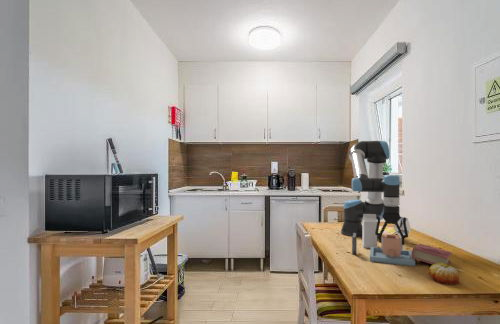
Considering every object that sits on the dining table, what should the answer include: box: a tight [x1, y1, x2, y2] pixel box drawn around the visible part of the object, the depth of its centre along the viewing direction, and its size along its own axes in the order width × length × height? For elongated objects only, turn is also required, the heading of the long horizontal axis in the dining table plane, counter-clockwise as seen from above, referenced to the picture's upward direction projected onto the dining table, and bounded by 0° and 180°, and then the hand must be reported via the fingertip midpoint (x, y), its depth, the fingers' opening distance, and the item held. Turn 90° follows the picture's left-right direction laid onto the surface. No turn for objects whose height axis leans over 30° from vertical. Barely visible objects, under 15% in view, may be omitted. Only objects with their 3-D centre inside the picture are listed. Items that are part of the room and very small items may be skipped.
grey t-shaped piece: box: [351, 233, 358, 256], centre depth 170 cm, size 5×2×11 cm, turn 158°
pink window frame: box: [382, 233, 401, 257], centre depth 162 cm, size 14×8×8 cm, turn 158°
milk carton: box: [361, 214, 378, 249], centre depth 186 cm, size 7×7×19 cm
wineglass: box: [393, 217, 412, 250], centre depth 177 cm, size 8×8×18 cm
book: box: [411, 243, 453, 266], centre depth 156 cm, size 14×15×5 cm
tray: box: [369, 246, 416, 267], centre depth 163 cm, size 20×20×2 cm
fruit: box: [428, 263, 460, 285], centre depth 132 cm, size 11×10×8 cm
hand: (391, 250), depth 163 cm, fingers closed on pink window frame, 8 cm apart
